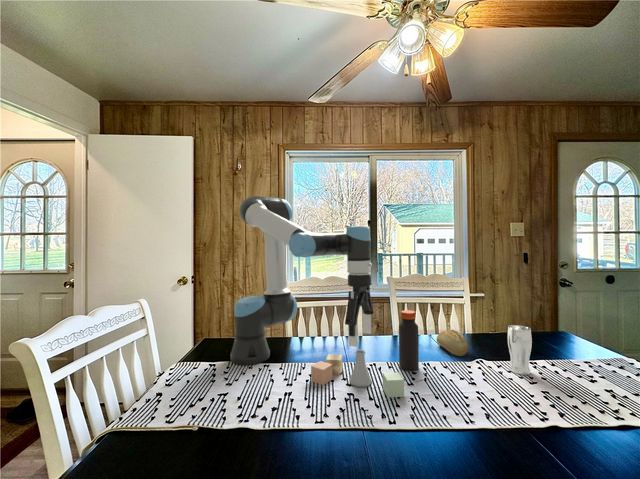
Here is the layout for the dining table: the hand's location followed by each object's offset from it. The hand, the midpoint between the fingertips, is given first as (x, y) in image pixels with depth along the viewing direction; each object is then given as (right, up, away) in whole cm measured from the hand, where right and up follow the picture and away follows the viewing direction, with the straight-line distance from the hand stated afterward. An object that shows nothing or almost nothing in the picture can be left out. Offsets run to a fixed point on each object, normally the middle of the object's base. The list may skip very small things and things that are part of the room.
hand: (360, 339), depth 97 cm
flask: (0, -14, 0) cm, 14 cm away
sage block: (+9, -14, -6) cm, 18 cm away
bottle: (+19, -14, +11) cm, 26 cm away
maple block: (-8, -14, +9) cm, 18 cm away
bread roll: (+41, -14, +27) cm, 51 cm away
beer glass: (+56, -13, +7) cm, 58 cm away
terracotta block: (-13, -14, +2) cm, 19 cm away
